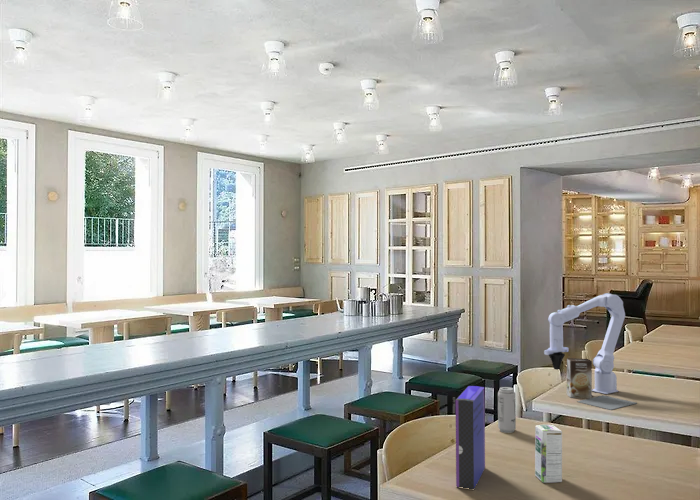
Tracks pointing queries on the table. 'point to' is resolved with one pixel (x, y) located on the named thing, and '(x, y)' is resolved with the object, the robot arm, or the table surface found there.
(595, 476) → the table surface
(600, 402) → the mat
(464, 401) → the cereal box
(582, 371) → the coffee box
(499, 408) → the energy drink can
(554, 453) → the syrup box
